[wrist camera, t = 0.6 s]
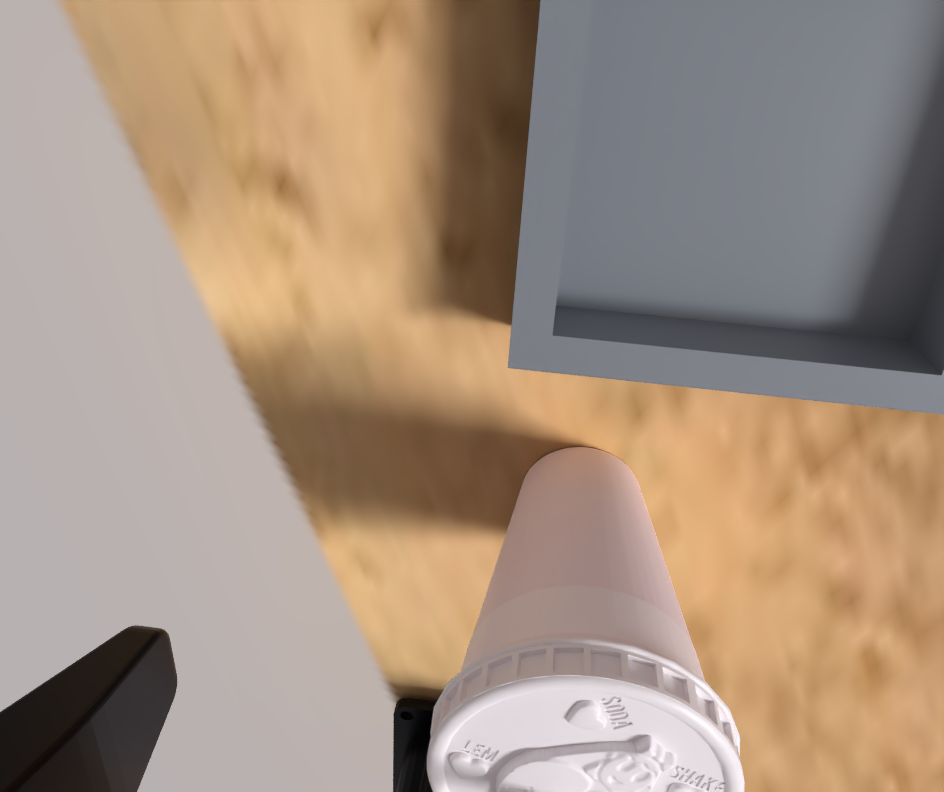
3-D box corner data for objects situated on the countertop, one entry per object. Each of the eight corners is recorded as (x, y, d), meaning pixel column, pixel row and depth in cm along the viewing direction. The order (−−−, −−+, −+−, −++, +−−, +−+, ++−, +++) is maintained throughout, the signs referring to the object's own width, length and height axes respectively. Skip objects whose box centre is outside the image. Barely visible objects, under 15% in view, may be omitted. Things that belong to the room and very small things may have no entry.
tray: (927, 369, 20) (970, 417, 18) (515, 327, 21) (507, 367, 19) (1129, -136, 14) (1227, -157, 12) (560, -164, 15) (557, -187, 13)
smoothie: (436, 487, 24) (288, 1017, 12) (589, 366, 21) (603, 894, 9) (572, 604, 25) (567, 1173, 13) (730, 506, 23) (904, 1109, 11)
